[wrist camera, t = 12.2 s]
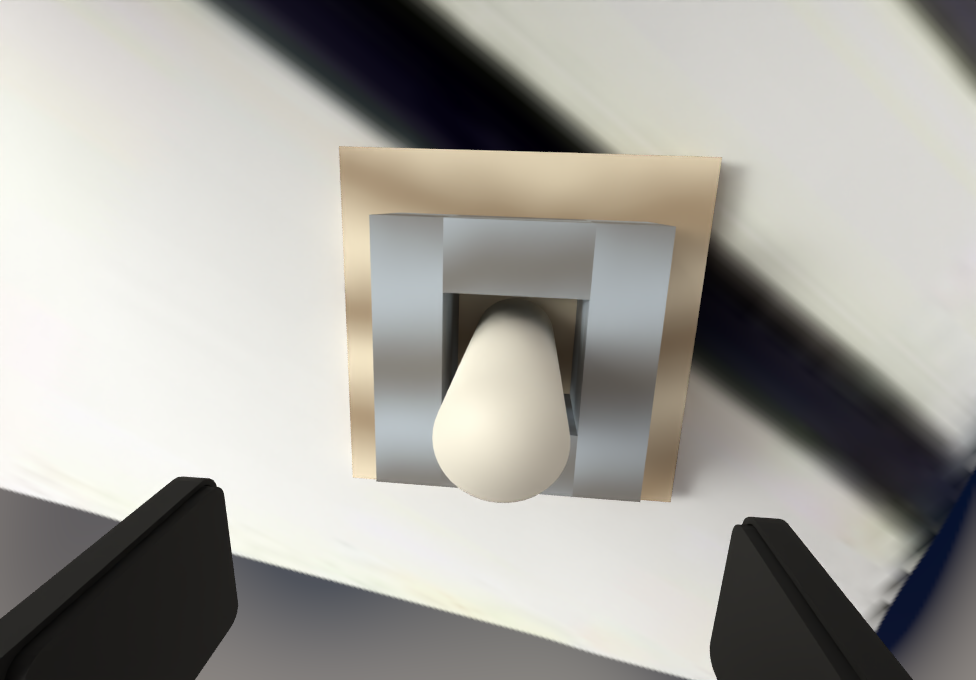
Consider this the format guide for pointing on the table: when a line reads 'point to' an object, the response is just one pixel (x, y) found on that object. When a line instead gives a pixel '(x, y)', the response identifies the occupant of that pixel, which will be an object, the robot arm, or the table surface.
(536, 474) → the peg
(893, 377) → the table surface
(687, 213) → the socket board
